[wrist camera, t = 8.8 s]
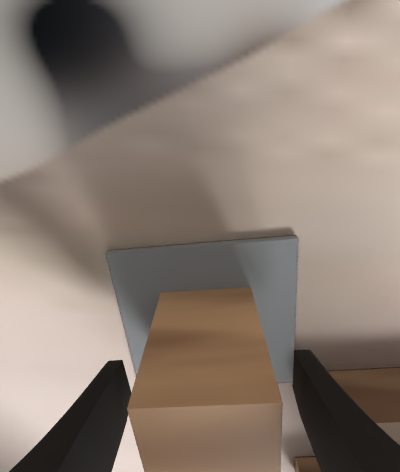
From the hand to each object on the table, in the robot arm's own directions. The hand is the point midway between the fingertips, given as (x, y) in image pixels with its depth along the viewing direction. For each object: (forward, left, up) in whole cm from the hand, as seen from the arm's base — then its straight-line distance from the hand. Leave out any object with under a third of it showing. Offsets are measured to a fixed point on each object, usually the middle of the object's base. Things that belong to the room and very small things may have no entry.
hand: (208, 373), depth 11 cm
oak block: (0, 0, -3) cm, 3 cm away
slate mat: (0, 0, -3) cm, 3 cm away
